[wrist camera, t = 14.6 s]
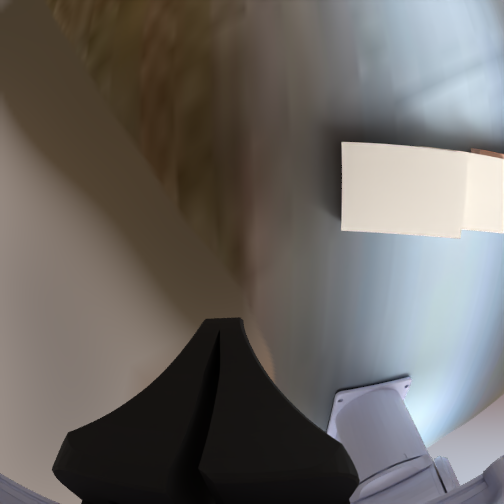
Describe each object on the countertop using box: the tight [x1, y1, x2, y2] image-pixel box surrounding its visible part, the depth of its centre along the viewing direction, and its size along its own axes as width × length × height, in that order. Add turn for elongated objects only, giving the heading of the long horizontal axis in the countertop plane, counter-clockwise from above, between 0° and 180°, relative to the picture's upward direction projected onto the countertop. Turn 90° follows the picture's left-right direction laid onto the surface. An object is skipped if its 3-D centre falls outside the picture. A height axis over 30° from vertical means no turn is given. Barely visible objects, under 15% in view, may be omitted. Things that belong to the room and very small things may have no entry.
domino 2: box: [415, 146, 504, 233], centre depth 15 cm, size 2×5×8 cm
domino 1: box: [341, 142, 468, 239], centre depth 15 cm, size 2×5×8 cm
